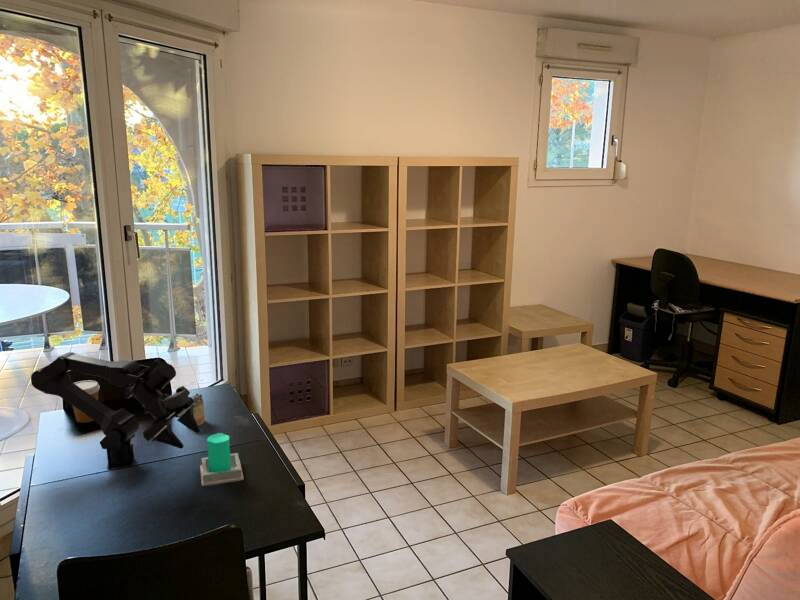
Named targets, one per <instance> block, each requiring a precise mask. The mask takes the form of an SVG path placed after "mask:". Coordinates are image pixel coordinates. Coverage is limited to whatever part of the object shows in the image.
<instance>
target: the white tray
mask: <svg viewBox="0 0 800 600" xmlns="http://www.w3.org/2000/svg"><path fill="white" fill-rule="evenodd" d="M230 462H231V469H230V470H223V471H217V472H210V473H209V462H208V456H206V457H201V464H200V465H199V467H200V469H199V470H200V479H201V481H200V482H201V487H202V488H203V487H209V486H215V485H220V484H222V485H223V484H227V483H235V482H241V481H244V480H245V479H244V478H245V477H244V475H243V469H242V465H241V460H240V457H239V453H238V452H235V453H230Z"/></svg>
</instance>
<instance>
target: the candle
mask: <svg viewBox="0 0 800 600" xmlns="http://www.w3.org/2000/svg"><path fill="white" fill-rule="evenodd" d="M206 441H207V457H208V462H209V473H210V472H217V471H223V470H230V469H231V462H230V454H231V449H230V448H231V447H230V444H231V443H230V435H227V434H225V433H223V432H218V433H214V434H212V435H210V436H209V437H208V438H207V439H206Z"/></svg>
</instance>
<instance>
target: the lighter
mask: <svg viewBox="0 0 800 600" xmlns="http://www.w3.org/2000/svg"><path fill="white" fill-rule="evenodd" d="M190 397H191V398H192V399H193V400H194V401H195V402H194V403H193V404H192V405H191V406H193V405H194V407H193V415H194V418H195V420H196V422H197V425H198V427H200V426H201V425H203V424H205V422H206V418H205V404H204V398H203V394H201V393H200V394H199V393H195V395H193V396H190ZM191 406H190V407H191ZM186 428H187V429H189V428H188V427H186Z"/></svg>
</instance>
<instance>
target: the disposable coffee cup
mask: <svg viewBox="0 0 800 600" xmlns="http://www.w3.org/2000/svg"><path fill="white" fill-rule="evenodd" d="M73 383H74V384H75V385H77V386H78V387H80V388H81V389H83V390H84V391H85V392H87V393H88V394H90V395H91V396H93V397H94V398H96V399H97V400H98V401H99V391H100V386H101V385H99V383H98V382H97V381H96V380H90V379H88V380H80V381H76V382H73ZM72 410H73V413H74V416H75V421H76V422H77V423H81V424H83V423H85V424H86V423H90V422H95V421H94V420H93V419H91V418H90V417H88V416H87V415H85V414H84V413H83V412H81V411H80V410H78V409H77V408H75V407H74V406H73V405H72Z"/></svg>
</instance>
